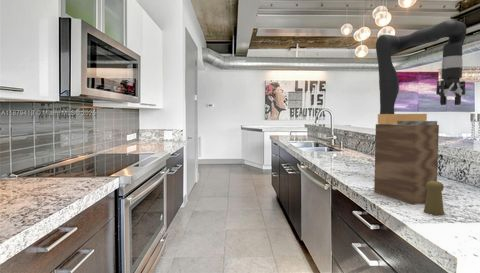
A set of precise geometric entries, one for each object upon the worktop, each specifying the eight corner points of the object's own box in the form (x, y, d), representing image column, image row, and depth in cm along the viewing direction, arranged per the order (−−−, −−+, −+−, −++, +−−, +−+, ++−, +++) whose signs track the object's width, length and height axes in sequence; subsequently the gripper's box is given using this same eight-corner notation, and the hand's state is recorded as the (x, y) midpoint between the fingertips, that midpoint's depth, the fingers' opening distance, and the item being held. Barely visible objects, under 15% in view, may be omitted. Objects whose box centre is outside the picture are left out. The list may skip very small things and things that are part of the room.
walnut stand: (412, 204, 118) (415, 121, 115) (374, 192, 137) (375, 120, 134) (436, 201, 121) (439, 120, 119) (395, 189, 140) (397, 120, 138)
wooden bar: (385, 123, 127) (386, 114, 126) (377, 123, 131) (377, 114, 130) (426, 123, 134) (426, 113, 133) (417, 122, 138) (417, 113, 137)
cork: (441, 210, 110) (442, 180, 109) (446, 216, 104) (447, 183, 103) (421, 209, 112) (422, 179, 111) (425, 214, 106) (426, 182, 105)
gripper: (455, 69, 141) (453, 105, 143) (431, 68, 137) (430, 105, 138) (472, 67, 134) (470, 104, 135) (448, 65, 130) (446, 104, 131)
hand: (450, 104), depth 137 cm, fingers open, 8 cm apart
